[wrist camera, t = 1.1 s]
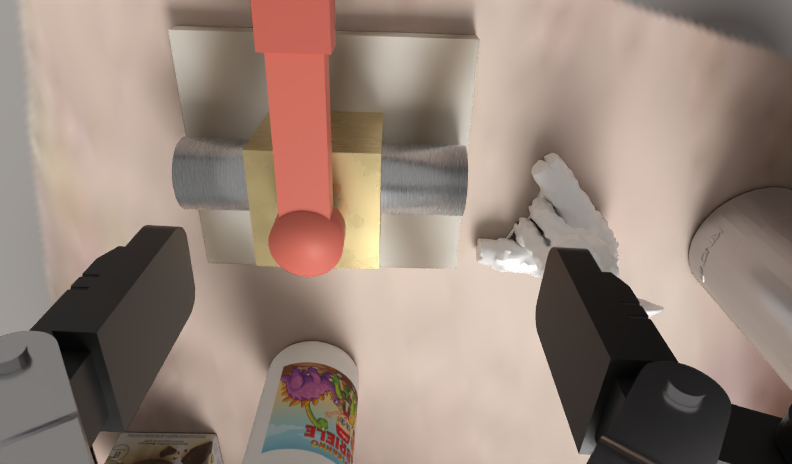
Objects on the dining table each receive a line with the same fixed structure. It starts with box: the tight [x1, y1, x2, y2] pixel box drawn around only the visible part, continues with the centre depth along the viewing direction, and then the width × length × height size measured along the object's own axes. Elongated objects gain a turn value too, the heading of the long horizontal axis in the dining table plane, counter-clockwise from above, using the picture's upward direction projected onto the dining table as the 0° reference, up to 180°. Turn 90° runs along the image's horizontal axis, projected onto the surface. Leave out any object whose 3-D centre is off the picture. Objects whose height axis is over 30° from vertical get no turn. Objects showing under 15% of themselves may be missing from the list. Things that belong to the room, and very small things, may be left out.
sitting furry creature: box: [476, 153, 664, 317], centre depth 34 cm, size 10×9×12 cm
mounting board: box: [168, 26, 480, 269], centre depth 35 cm, size 18×16×2 cm
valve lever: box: [250, 0, 346, 277], centre depth 24 cm, size 15×4×3 cm, turn 178°
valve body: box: [172, 111, 468, 269], centre depth 32 cm, size 17×7×7 cm, turn 88°
